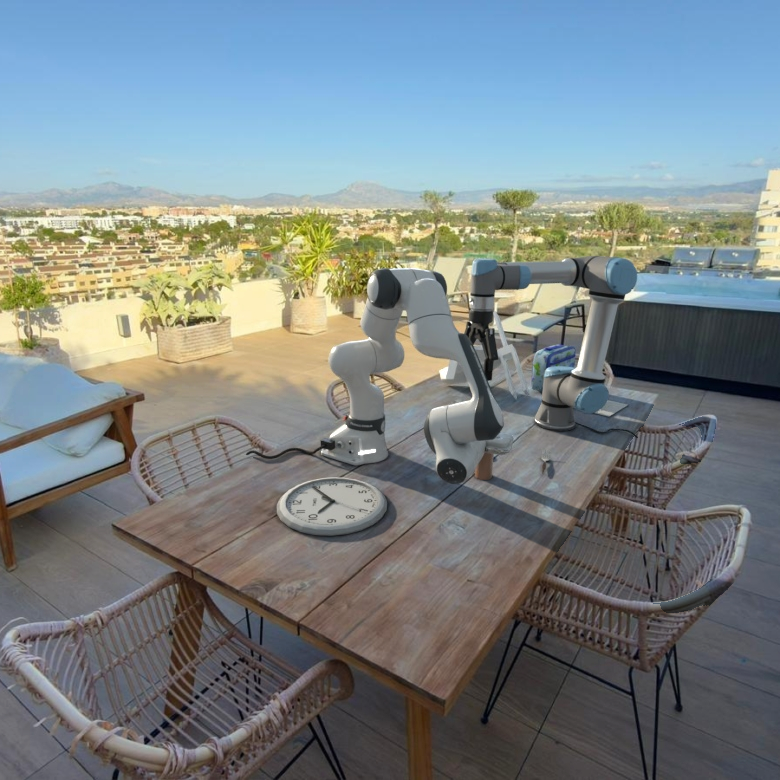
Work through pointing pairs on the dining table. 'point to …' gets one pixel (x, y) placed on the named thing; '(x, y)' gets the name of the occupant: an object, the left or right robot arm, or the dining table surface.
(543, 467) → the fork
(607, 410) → the invitation card
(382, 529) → the dining table surface
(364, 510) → the wall clock
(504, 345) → the white plastic object
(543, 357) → the lunch box
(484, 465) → the tan rounded cylinder
